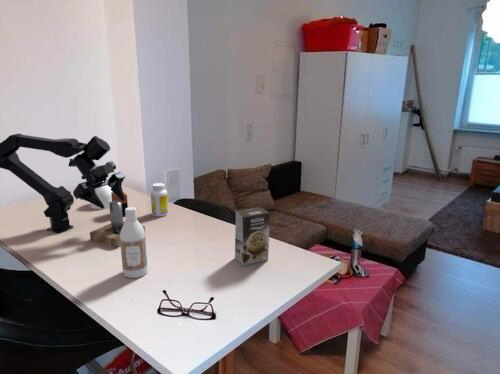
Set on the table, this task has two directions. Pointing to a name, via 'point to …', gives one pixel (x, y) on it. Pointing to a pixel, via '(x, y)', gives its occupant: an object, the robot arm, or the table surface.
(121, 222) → the grey metal cylinder
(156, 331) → the table surface
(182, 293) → the table surface
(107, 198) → the teardrop
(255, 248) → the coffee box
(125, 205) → the battery
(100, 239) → the holder block
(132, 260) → the bath foam
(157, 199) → the supplement bottle
